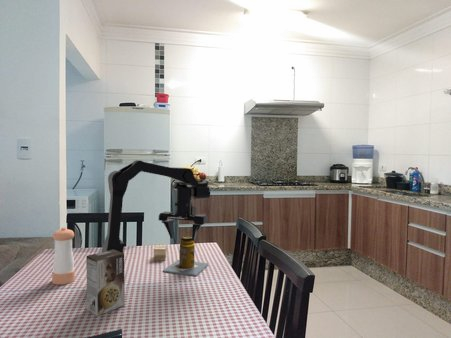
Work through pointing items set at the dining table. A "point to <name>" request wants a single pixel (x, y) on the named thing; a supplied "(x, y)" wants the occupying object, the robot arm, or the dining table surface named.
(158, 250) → the beech cube
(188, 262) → the condiment
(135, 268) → the dining table surface
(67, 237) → the pepper shaker
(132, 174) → the robot arm
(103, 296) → the cookie box
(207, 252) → the dining table surface
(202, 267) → the plate
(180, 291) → the dining table surface
